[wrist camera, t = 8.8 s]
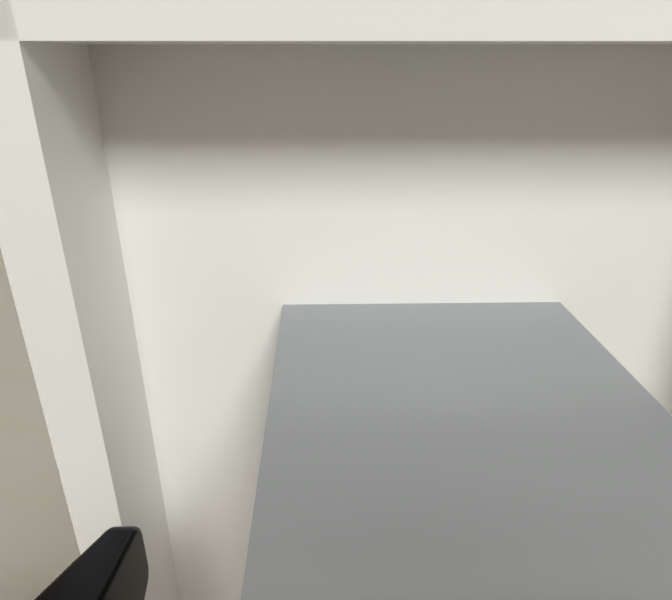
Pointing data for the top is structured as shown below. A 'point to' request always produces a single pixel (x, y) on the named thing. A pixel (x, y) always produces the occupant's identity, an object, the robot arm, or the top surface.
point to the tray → (305, 215)
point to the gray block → (457, 460)
